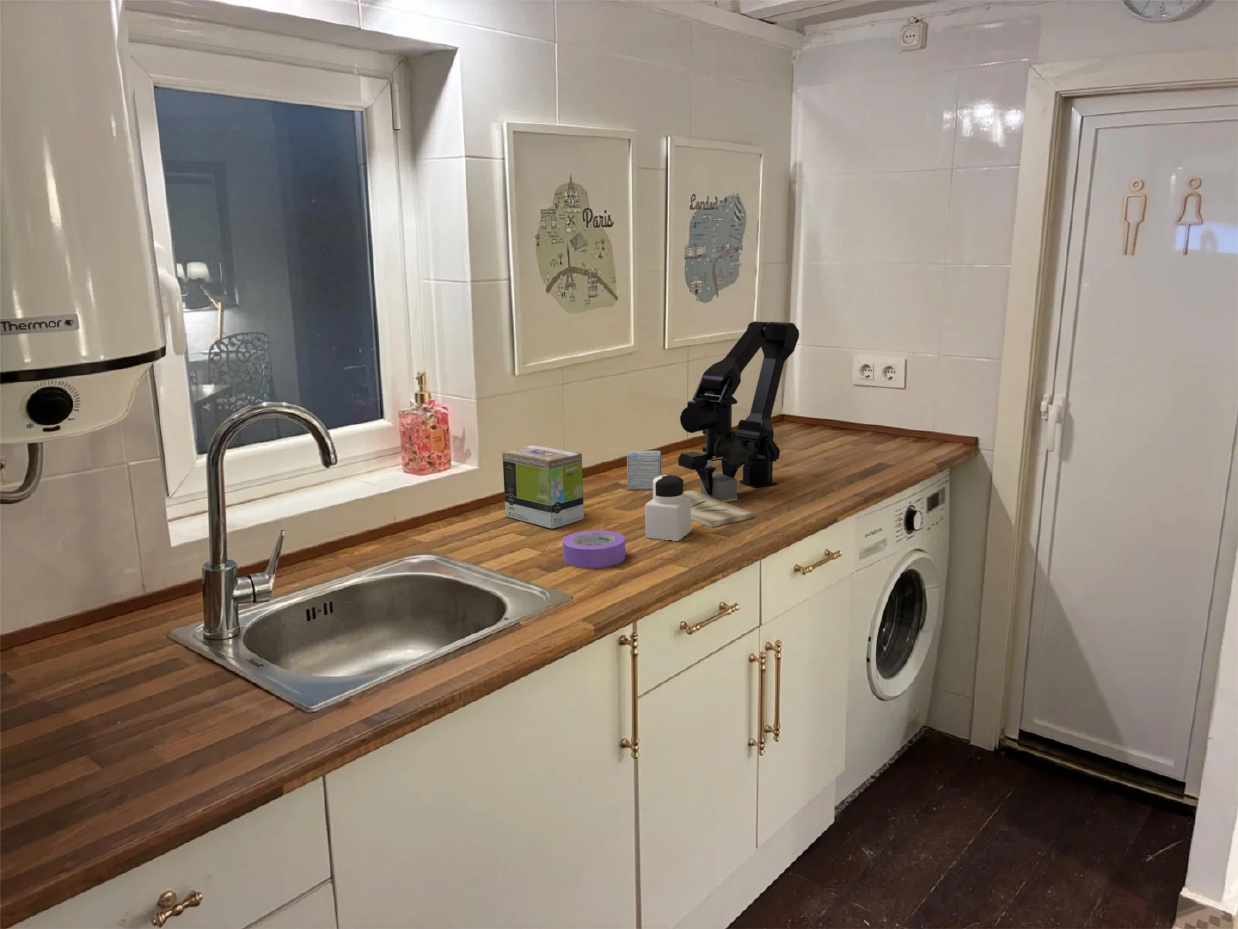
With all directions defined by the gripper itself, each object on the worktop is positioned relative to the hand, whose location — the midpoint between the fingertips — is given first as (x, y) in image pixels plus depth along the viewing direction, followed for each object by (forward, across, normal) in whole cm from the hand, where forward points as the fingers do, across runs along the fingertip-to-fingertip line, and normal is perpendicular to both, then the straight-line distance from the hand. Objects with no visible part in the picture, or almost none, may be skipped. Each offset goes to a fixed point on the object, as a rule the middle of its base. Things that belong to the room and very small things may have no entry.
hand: (718, 493), depth 214 cm
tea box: (+2, -40, +9) cm, 41 cm away
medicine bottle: (+1, -25, -16) cm, 30 cm away
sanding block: (+1, 0, 0) cm, 1 cm away
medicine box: (+1, -9, +17) cm, 19 cm away
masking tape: (+2, -44, -19) cm, 48 cm away
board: (+1, -9, -6) cm, 11 cm away
